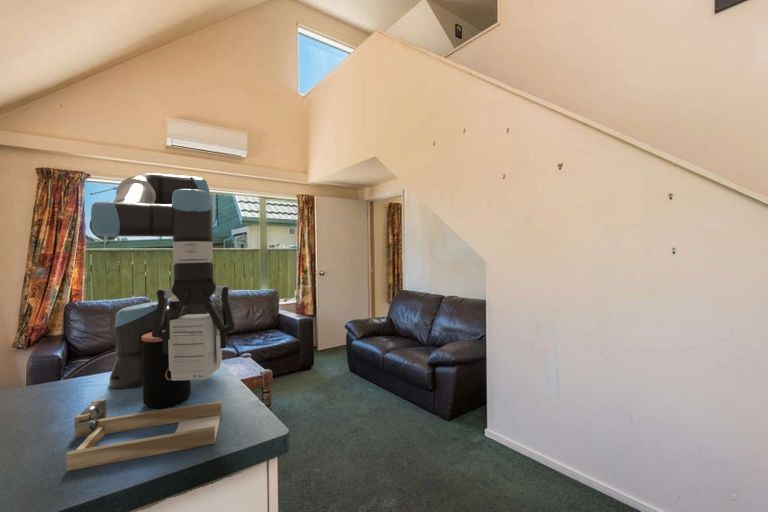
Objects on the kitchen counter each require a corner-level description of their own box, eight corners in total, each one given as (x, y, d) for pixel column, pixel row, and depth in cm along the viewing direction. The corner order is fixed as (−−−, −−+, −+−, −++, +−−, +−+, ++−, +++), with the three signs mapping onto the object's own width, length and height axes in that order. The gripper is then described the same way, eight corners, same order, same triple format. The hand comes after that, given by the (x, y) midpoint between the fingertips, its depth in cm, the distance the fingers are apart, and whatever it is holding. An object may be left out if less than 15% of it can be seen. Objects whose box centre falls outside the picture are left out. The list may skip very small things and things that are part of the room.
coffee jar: (168, 412, 85) (166, 339, 85) (132, 409, 87) (130, 337, 87) (200, 394, 95) (198, 329, 95) (167, 392, 98) (165, 328, 97)
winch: (92, 419, 82) (91, 399, 82) (117, 415, 84) (116, 396, 84) (65, 445, 71) (65, 423, 71) (95, 440, 73) (94, 418, 72)
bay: (100, 432, 76) (100, 418, 76) (221, 413, 84) (221, 400, 84) (66, 471, 62) (66, 454, 62) (214, 443, 70) (214, 429, 70)
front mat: (180, 422, 80) (180, 421, 80) (220, 415, 83) (220, 415, 83) (168, 448, 69) (168, 447, 69) (215, 439, 72) (215, 439, 72)
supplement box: (187, 369, 79) (186, 313, 79) (220, 368, 80) (219, 313, 79) (169, 381, 72) (168, 320, 72) (206, 379, 72) (205, 319, 72)
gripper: (129, 263, 68) (133, 378, 69) (245, 260, 76) (248, 364, 76) (141, 262, 75) (144, 367, 76) (246, 260, 83) (249, 355, 83)
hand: (196, 365), depth 76 cm, fingers closed on supplement box, 8 cm apart
